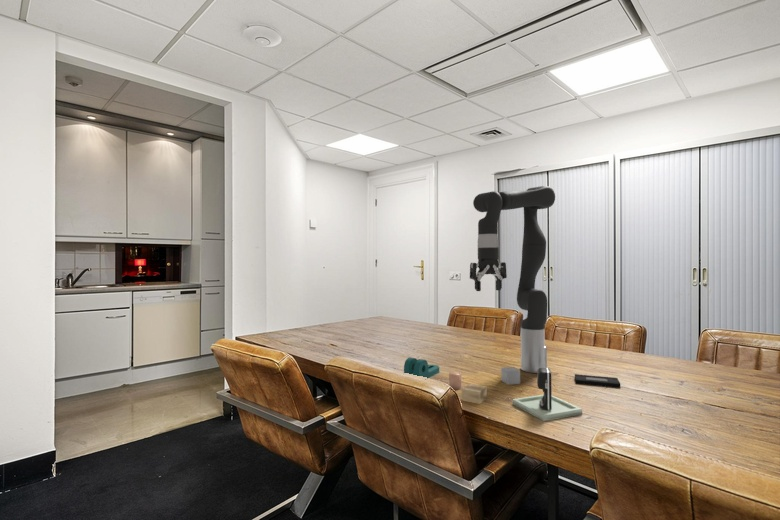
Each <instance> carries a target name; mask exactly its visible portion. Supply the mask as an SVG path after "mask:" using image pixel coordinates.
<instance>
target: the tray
mask: <svg viewBox="0 0 780 520" xmlns="http://www.w3.org/2000/svg"><path fill="white" fill-rule="evenodd" d="M543 395H544V394H538V395H531V396H525V397H519V398H513V399H512V405H514V406H516V407H517V408H518V409H521V410H522V411H524V412H526V413H528V414H530V415H532V416H534V417H535V418H537V419H538V420H541V421H542V422H545V421H546V422H547V421H552V420H558V419H562V418H563V419H564V418H568V417H575V416H580V415H583V408H581V407H579V406H577V405H575V404H572V403H570V402H567V401H566V400H564V399H561V398H559V397H557V396H554V395H553V394H552V409H551V410H546V409H541V408H540V400H541V399H542V398H543Z"/></svg>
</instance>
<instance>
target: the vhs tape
mask: <svg viewBox="0 0 780 520" xmlns="http://www.w3.org/2000/svg"><path fill="white" fill-rule="evenodd" d="M574 380H575V381H574V382H575V384H577V385H586V386H595V387H596V386H597V387H605V388H606V387H607V388H615V389H617V388H618V389H621V382H620V381H619V379H618V377H611V376H599V375H590V374H589V375H587V374H578V373H575V374H574Z"/></svg>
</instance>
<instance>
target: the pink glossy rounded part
mask: <svg viewBox="0 0 780 520" xmlns="http://www.w3.org/2000/svg"><path fill="white" fill-rule="evenodd" d="M462 381H463V380H462V373H461V372H459V371H451V372H449V373H448V386H449V385H450V386H451V387H452V388H453V389H452V390H462V388H463V387H462Z"/></svg>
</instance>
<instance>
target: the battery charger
mask: <svg viewBox="0 0 780 520" xmlns="http://www.w3.org/2000/svg"><path fill="white" fill-rule="evenodd" d="M536 378H537V379H536V383H537V387H538V389H539V390H541V391H542V392H543V394H542V395H543V398H542V399H541V400H540V408H541V409H546V410H551V409H552V395H553V394H552V371H551V368H549V367H547V368H539V369H538V371H537V374H536Z"/></svg>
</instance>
